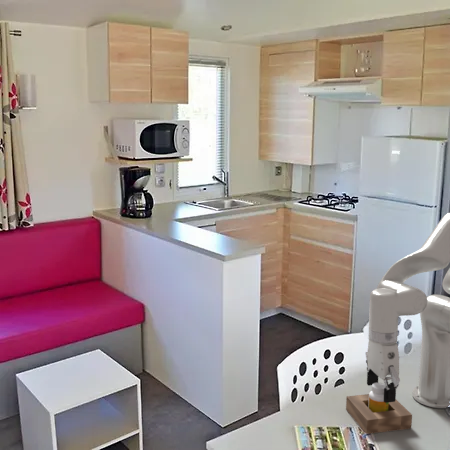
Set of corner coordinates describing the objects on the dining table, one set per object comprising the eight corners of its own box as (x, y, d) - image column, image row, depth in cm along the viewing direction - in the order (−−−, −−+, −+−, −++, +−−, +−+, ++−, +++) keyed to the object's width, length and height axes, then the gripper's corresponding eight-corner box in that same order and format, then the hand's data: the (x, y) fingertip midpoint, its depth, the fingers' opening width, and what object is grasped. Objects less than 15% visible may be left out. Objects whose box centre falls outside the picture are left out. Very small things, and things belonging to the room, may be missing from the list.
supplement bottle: (388, 424, 152) (390, 391, 150) (368, 422, 153) (370, 389, 151) (386, 414, 157) (388, 382, 155) (367, 412, 158) (368, 380, 156)
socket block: (387, 404, 162) (388, 391, 161) (411, 428, 150) (412, 414, 149) (345, 409, 159) (346, 396, 159) (366, 434, 147) (367, 420, 146)
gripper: (412, 346, 142) (409, 407, 146) (380, 321, 159) (378, 377, 163) (385, 349, 141) (383, 410, 144) (356, 324, 158) (354, 380, 161)
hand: (380, 392), depth 153 cm, fingers open, 9 cm apart
